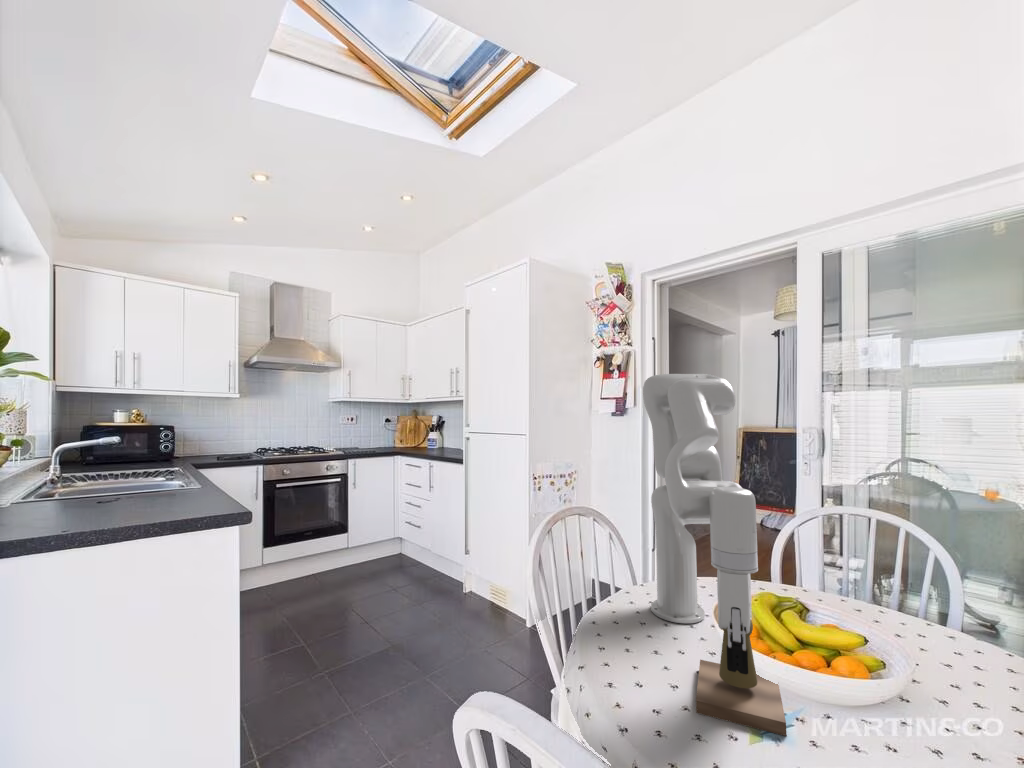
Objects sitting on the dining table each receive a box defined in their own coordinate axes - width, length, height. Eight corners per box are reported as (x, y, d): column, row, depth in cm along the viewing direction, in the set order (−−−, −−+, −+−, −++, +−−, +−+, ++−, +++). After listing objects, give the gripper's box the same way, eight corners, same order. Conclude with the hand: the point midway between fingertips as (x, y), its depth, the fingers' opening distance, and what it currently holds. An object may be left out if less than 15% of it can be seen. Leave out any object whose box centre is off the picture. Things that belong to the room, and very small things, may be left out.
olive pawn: (717, 682, 79) (716, 616, 79) (720, 665, 84) (718, 603, 85) (757, 692, 76) (755, 624, 76) (757, 673, 81) (755, 610, 82)
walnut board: (700, 670, 89) (700, 659, 89) (777, 687, 83) (776, 675, 83) (696, 713, 76) (695, 700, 76) (786, 736, 70) (786, 722, 71)
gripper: (712, 543, 90) (715, 639, 89) (709, 570, 75) (712, 685, 74) (754, 548, 87) (758, 647, 86) (761, 576, 72) (765, 697, 71)
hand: (737, 663), depth 80 cm, fingers closed on olive pawn, 4 cm apart
